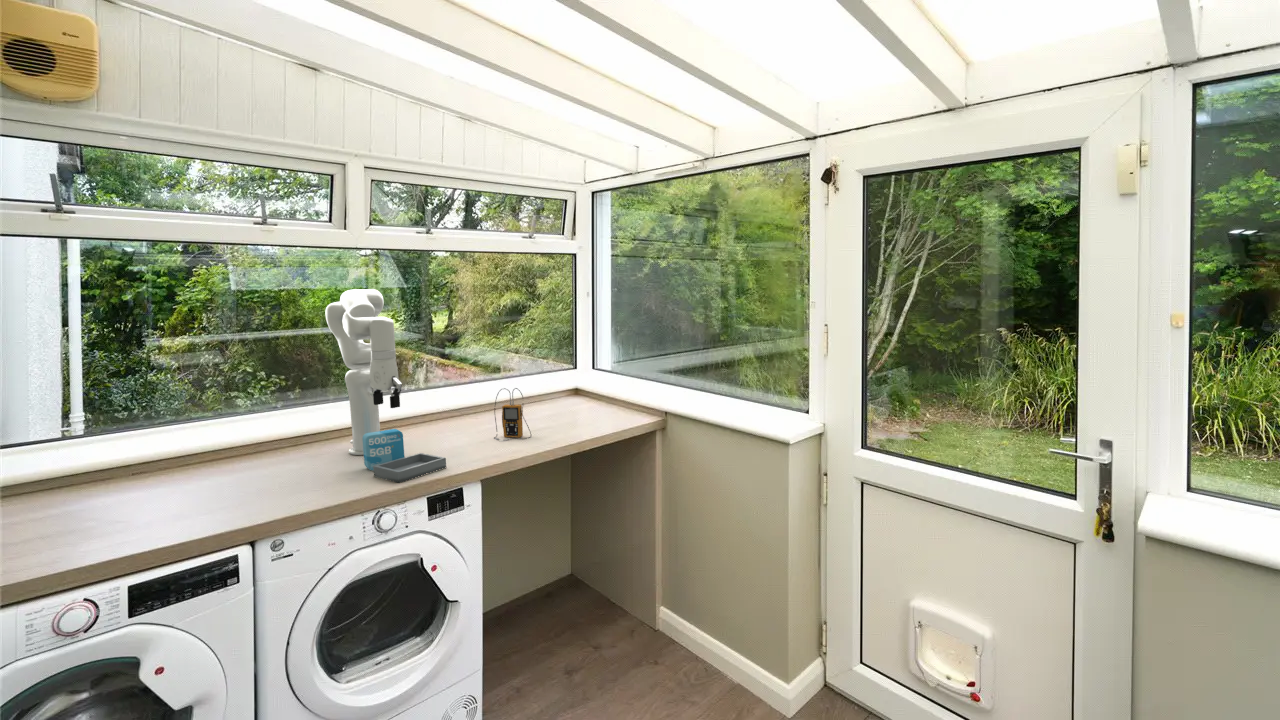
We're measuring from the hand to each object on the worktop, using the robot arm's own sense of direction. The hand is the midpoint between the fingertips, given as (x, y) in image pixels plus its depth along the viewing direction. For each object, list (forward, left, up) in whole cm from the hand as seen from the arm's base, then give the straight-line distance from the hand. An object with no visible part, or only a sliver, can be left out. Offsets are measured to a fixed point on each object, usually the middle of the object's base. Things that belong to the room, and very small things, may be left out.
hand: (386, 405), depth 200 cm
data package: (-2, -1, -21) cm, 21 cm away
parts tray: (+12, -1, -21) cm, 24 cm away
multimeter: (+9, +47, -21) cm, 52 cm away
